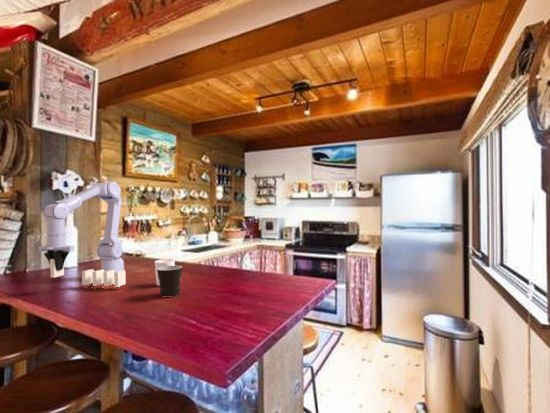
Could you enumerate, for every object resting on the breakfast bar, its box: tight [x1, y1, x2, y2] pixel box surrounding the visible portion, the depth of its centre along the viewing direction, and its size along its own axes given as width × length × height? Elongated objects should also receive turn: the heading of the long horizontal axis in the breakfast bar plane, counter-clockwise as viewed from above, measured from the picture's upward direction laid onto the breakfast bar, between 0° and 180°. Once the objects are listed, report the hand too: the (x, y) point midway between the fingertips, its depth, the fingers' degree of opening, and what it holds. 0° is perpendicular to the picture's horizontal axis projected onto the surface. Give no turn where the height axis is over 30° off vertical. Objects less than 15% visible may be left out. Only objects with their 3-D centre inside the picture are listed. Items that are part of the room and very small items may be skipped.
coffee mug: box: [157, 265, 183, 297], centre depth 113 cm, size 12×9×10 cm
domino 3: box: [92, 269, 104, 286], centre depth 124 cm, size 4×2×7 cm, turn 168°
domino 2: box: [81, 268, 95, 286], centre depth 125 cm, size 4×2×7 cm, turn 168°
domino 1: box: [49, 259, 65, 279], centre depth 119 cm, size 4×2×7 cm, turn 169°
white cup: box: [154, 258, 176, 286], centre depth 127 cm, size 8×8×10 cm
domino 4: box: [103, 270, 115, 286], centre depth 123 cm, size 4×2×7 cm, turn 168°
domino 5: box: [114, 269, 127, 288], centre depth 122 cm, size 4×2×7 cm, turn 168°
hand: (57, 269), depth 119 cm, fingers closed on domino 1, 1 cm apart
